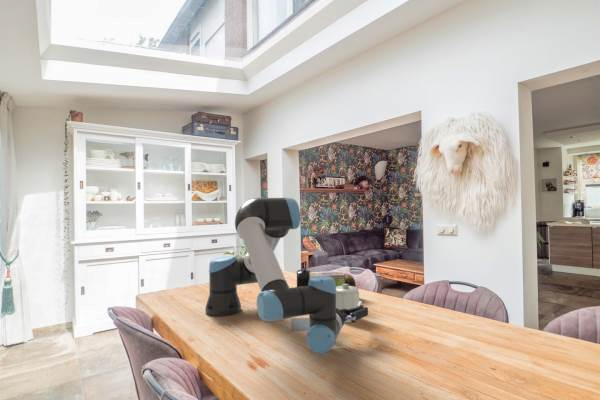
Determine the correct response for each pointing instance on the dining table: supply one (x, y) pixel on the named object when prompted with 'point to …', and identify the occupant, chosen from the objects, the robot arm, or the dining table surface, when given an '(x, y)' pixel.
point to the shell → (349, 280)
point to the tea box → (336, 275)
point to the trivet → (300, 324)
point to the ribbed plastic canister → (347, 297)
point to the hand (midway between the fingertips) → (341, 303)
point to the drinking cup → (303, 277)
